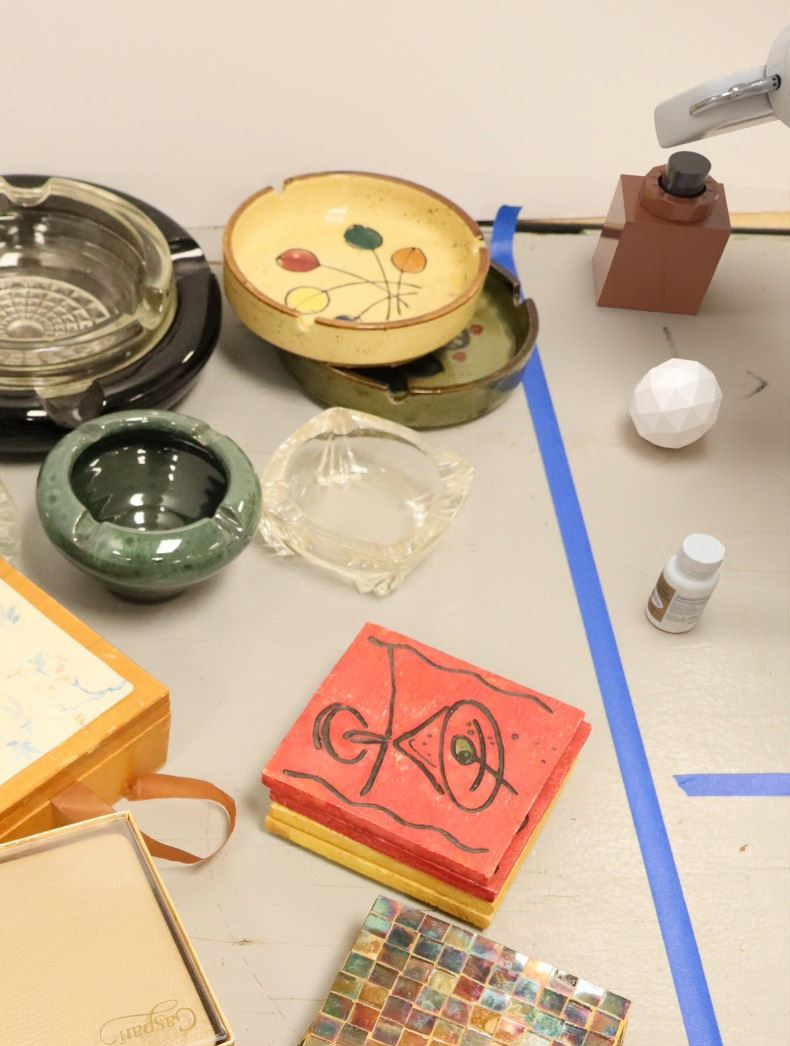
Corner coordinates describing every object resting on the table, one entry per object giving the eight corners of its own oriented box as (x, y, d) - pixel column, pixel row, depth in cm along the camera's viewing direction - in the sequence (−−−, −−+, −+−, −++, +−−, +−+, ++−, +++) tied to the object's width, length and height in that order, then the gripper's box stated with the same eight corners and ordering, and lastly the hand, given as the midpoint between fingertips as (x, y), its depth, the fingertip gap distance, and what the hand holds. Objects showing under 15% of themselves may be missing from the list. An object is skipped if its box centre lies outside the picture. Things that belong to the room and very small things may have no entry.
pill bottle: (643, 593, 123) (675, 525, 116) (695, 600, 122) (729, 532, 116) (645, 630, 120) (677, 563, 114) (698, 637, 120) (733, 570, 114)
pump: (699, 178, 138) (709, 152, 136) (703, 202, 136) (713, 176, 134) (657, 174, 138) (667, 148, 136) (661, 198, 136) (670, 172, 134)
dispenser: (689, 268, 148) (730, 165, 138) (696, 316, 143) (739, 213, 134) (592, 259, 148) (626, 155, 139) (596, 306, 144) (632, 203, 135)
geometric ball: (670, 455, 136) (748, 406, 131) (644, 473, 131) (725, 422, 125) (629, 386, 136) (706, 334, 130) (601, 401, 130) (680, 347, 125)
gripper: (727, 136, 117) (618, 185, 130) (921, 86, 122) (798, 138, 135) (714, 52, 115) (606, 111, 128) (911, 5, 120) (788, 66, 133)
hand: (706, 124), depth 131 cm, fingers closed
